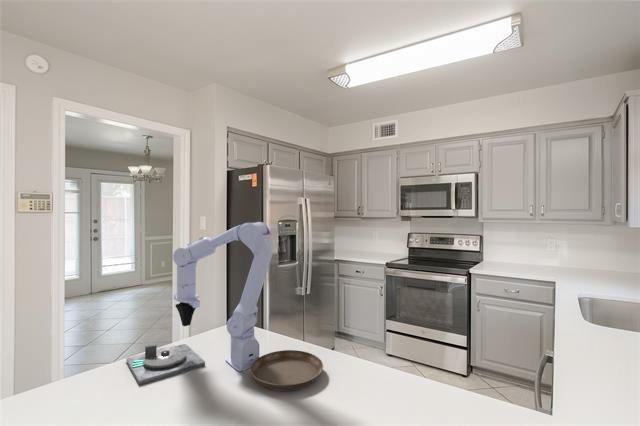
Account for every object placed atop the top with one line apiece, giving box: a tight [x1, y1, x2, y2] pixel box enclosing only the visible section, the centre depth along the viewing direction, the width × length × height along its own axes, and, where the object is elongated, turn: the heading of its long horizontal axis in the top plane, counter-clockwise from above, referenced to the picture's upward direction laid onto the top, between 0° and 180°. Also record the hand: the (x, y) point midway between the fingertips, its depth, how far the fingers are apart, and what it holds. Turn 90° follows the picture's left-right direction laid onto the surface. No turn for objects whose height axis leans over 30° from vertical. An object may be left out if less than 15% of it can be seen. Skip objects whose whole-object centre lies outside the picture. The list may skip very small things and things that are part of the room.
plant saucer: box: [250, 349, 324, 392], centre depth 96 cm, size 21×21×3 cm
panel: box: [125, 343, 206, 386], centre depth 103 cm, size 18×18×2 cm
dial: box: [143, 343, 186, 368], centre depth 103 cm, size 12×12×5 cm
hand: (186, 325), depth 109 cm, fingers closed
